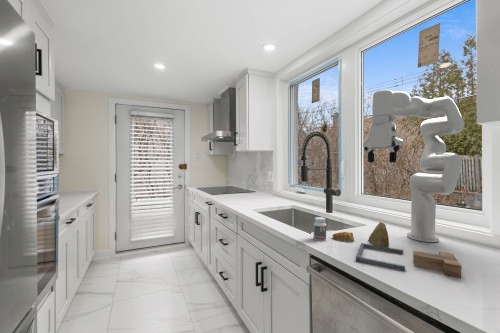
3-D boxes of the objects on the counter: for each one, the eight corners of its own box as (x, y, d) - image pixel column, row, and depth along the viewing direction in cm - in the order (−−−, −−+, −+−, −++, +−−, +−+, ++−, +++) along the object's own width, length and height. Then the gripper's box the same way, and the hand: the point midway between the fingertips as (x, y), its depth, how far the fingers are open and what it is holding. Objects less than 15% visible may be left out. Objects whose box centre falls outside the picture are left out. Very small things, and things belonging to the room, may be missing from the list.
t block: (412, 257, 92) (412, 247, 92) (452, 265, 86) (453, 253, 86) (415, 269, 82) (415, 258, 82) (461, 278, 76) (461, 266, 76)
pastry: (332, 241, 112) (333, 232, 112) (332, 236, 119) (332, 229, 119) (354, 243, 110) (354, 234, 109) (352, 238, 116) (352, 230, 116)
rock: (396, 246, 98) (395, 236, 107) (382, 228, 100) (382, 220, 108) (372, 257, 103) (373, 247, 112) (359, 240, 105) (360, 231, 113)
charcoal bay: (361, 246, 104) (361, 243, 104) (402, 253, 97) (402, 249, 97) (355, 261, 89) (355, 257, 88) (405, 271, 81) (405, 266, 81)
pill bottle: (328, 240, 112) (329, 219, 112) (317, 241, 110) (318, 220, 110) (321, 237, 117) (321, 216, 117) (311, 237, 116) (311, 217, 115)
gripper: (409, 118, 95) (408, 162, 95) (369, 124, 110) (369, 162, 110) (397, 116, 91) (396, 162, 91) (358, 123, 107) (357, 162, 107)
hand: (381, 162), depth 101 cm, fingers open, 9 cm apart
